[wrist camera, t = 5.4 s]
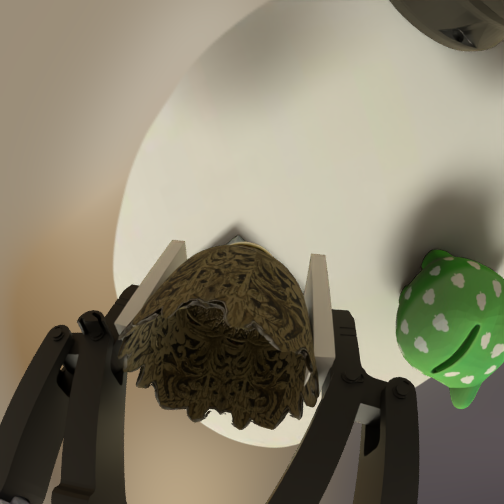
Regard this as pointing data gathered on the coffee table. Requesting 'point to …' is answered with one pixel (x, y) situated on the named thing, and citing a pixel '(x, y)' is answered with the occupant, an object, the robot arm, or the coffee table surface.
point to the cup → (226, 339)
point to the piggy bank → (453, 323)
